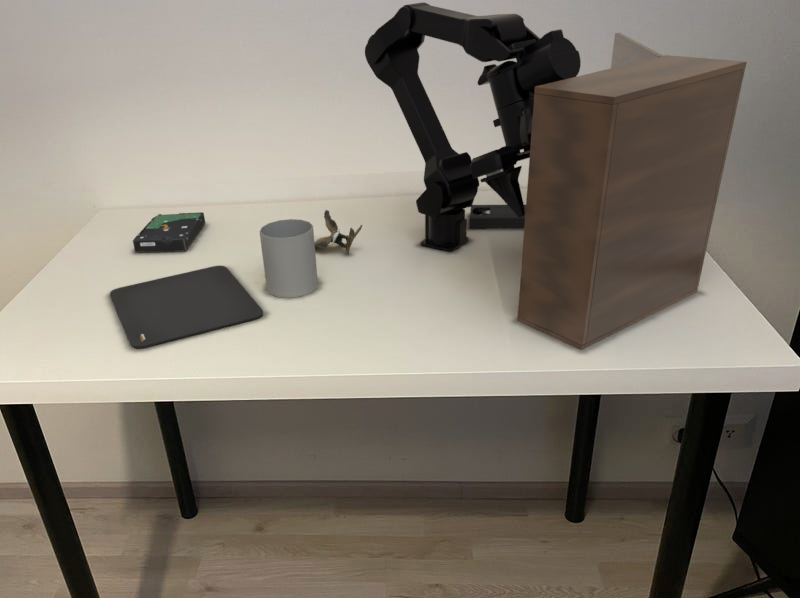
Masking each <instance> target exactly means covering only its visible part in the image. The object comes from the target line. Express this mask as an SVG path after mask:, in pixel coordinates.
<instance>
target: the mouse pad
mask: <svg viewBox="0 0 800 598" xmlns="http://www.w3.org/2000/svg"><path fill="white" fill-rule="evenodd" d="M109 295H110V298H111V301H112V304H113V306H114V308H115V311H116V313H117V315H118V317H119V320H120V322H121V326H122V328H123V329H124V332H125V335H126V337H127V339H128V342H129V344H130V346H131V347H132V348H136V349H141V348H148V347H152V346H155V345H159V344H163V343H168V342H171V341H175V340H178V339H183V338H186V337H187V338H188V337H189V336H190V337H191V336H194V335H195V336H196V335H198V334H202V333H206V332H210V331H214V330H217V329H221V328H226V327H230V326H233V325H237V324H241V323H245V322H249V321H253V320H257V319H260V318H261V317H263V315H264V310H263V309H262V307H261V306H260V305H259V304H258V303H257V301H256V300H255V299H254V298H253V296H251V294H250V293H249V292H248V291H247V289H245V287H244V286H243V285H242V284H241V283H240V282H239V280H238V279H237V278H236V277H235V276H234V274H233V273H232V271H230V270H229V268H228V267H226V266H224V265H214V266H209V267H205V268H201V269H196V270H191V271H187V272H182V273H178V274H174V275H169V276H165V277H159V278H156V279H151V280H147V281H142V282H138V283H135V284H130V285H129V284H128V285H126V286H121V287H118V288H114V289H112V290H111V291H110V293H109Z"/></svg>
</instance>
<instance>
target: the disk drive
mask: <svg viewBox="0 0 800 598" xmlns="http://www.w3.org/2000/svg"><path fill="white" fill-rule="evenodd" d="M205 224H206V219H205V213H204V212H201V211H200V212H179V213H171V214H169V213H168V214H162V213H158V214H157V215H155V216H153V217H152V218H151V220H150V221H149V222H147V224H146V225H145V226H144V227H143V228H142V229H141V230H140V231H139V233H137V235H136V236H135V237H134V238H133V239H132V244H133V249H134V252H139V253H160V252H161V253H163V252H180V251H181V252H183V251H187V250H188V249H189V248H190V246H191V244H192V243H193V242H194V240H196V238H197V236H198V235H199V233H200V232H201V231H202V229H203V228H204V226H205Z"/></svg>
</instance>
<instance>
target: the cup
mask: <svg viewBox="0 0 800 598" xmlns="http://www.w3.org/2000/svg"><path fill="white" fill-rule="evenodd" d="M259 238H260V246H261V254H262V262H263V269H264V270H263V271H264V279H265V287H266V291H267V292H268V293H269V295H271V296H274V297H277V298H286V299H290V298H299V297H303V296H306V295H309V294H312V292H314V291H315V290H317V289H318V288H317V287H318V286H319V279H318V267H317V257H316V247H315V243H314V242H315V233H314V225H313V224H312V223H311V222H310V221H308V220H305V219H304V220H303V219H297V218H296V219H293V218H290V219H289V218H288V219H279V220H276V221H272V222H268V223H266V224H265V225H263V226H261V228H260V229H259Z"/></svg>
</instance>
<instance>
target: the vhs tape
mask: <svg viewBox="0 0 800 598" xmlns="http://www.w3.org/2000/svg"><path fill="white" fill-rule="evenodd" d="M524 211H525V213H526V204H524ZM524 227H525V216H522V217H518V216H517V215H516V214H515V213H514V212H513V211H512V209H511V208H510V207H509V206H508V205H507V204H472V207H470V212H469V230H487V229H489V230H490V229H495V230H497V229H502V230H503V229H509V230H510V229H512V230H514V229H516V230H517V229H519V230H520V229H522V230H524Z"/></svg>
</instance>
